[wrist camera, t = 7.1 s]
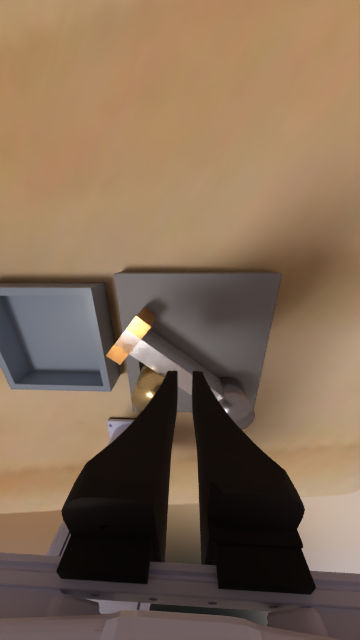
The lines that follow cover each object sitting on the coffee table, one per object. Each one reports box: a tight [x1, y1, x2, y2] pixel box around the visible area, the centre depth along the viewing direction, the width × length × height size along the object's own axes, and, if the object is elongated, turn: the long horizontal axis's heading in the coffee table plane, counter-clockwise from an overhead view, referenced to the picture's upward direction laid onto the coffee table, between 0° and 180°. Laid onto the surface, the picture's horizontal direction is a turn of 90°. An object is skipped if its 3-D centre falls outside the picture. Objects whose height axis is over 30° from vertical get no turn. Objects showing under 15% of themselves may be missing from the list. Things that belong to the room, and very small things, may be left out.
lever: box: [106, 307, 255, 430], centre depth 18 cm, size 16×5×4 cm, turn 51°
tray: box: [0, 283, 120, 392], centre depth 20 cm, size 13×13×3 cm
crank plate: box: [114, 272, 282, 412], centre depth 20 cm, size 18×16×2 cm
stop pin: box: [131, 364, 164, 412], centre depth 19 cm, size 4×4×6 cm
